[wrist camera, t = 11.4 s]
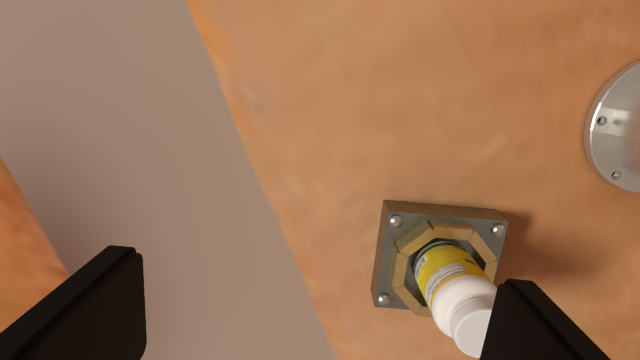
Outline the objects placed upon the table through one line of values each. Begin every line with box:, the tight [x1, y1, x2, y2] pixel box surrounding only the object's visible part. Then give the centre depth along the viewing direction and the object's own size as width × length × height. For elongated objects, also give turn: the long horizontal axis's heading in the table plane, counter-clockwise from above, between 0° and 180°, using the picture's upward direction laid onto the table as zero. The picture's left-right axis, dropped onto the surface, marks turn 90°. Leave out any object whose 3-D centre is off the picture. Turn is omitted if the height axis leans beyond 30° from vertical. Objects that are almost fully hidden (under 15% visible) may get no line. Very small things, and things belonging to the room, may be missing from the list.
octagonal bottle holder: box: [371, 200, 509, 317], centre depth 36 cm, size 11×10×5 cm
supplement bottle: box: [413, 241, 497, 358], centre depth 31 cm, size 5×5×10 cm
